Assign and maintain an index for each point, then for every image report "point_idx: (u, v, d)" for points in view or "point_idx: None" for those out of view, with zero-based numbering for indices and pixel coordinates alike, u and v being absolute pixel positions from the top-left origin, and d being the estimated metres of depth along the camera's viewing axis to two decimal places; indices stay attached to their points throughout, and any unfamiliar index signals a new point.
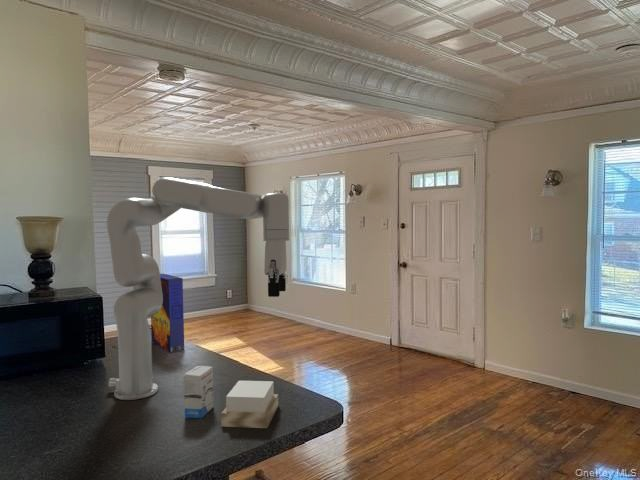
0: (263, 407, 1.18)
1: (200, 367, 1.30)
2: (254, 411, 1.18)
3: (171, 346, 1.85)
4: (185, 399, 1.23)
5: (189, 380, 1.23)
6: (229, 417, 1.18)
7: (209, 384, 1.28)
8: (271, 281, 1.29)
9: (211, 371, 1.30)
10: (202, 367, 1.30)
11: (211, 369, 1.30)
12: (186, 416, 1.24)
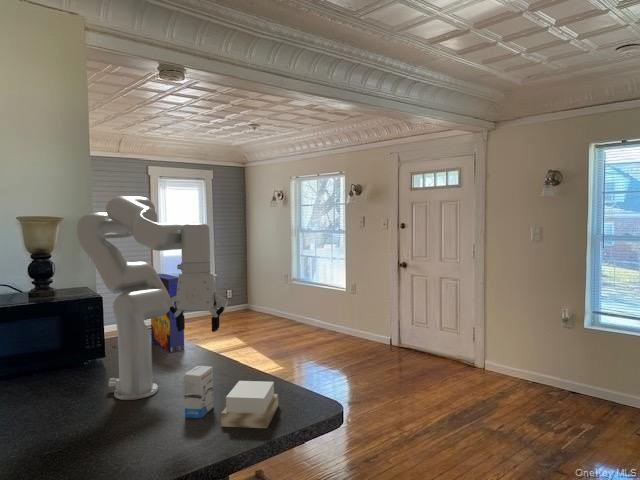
0: (263, 408, 1.18)
1: (200, 367, 1.30)
2: (254, 412, 1.18)
3: (171, 346, 1.85)
4: (185, 399, 1.23)
5: (189, 380, 1.23)
6: (229, 417, 1.18)
7: (209, 384, 1.28)
8: (219, 314, 1.25)
9: (211, 371, 1.30)
10: (202, 367, 1.30)
11: (211, 369, 1.30)
12: (186, 416, 1.24)
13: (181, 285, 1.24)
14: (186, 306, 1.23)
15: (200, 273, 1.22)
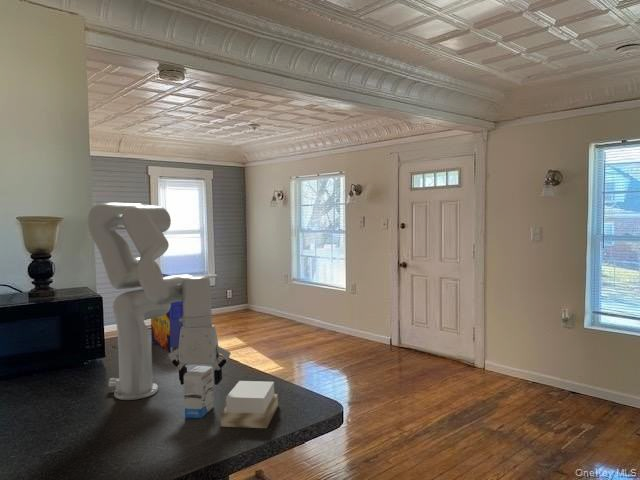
0: (263, 408, 1.18)
1: (200, 367, 1.30)
2: (254, 412, 1.18)
3: (171, 346, 1.85)
4: (185, 399, 1.23)
5: (189, 380, 1.23)
6: (229, 417, 1.18)
7: (209, 384, 1.28)
8: (221, 367, 1.25)
9: (211, 371, 1.30)
10: (202, 367, 1.30)
11: (211, 369, 1.30)
12: (186, 416, 1.24)
13: (183, 338, 1.24)
14: (189, 359, 1.24)
15: (202, 327, 1.23)
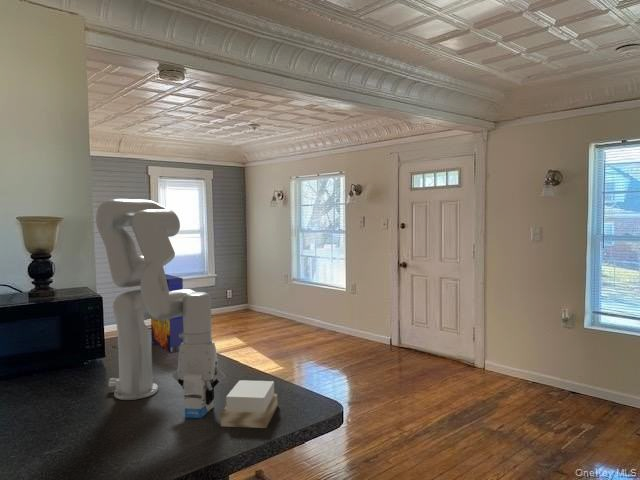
0: (263, 407, 1.18)
1: None
2: (254, 411, 1.18)
3: (171, 346, 1.85)
4: (185, 399, 1.23)
5: (189, 380, 1.23)
6: (228, 417, 1.18)
7: None
8: None
9: None
10: None
11: None
12: (186, 416, 1.24)
13: (182, 355, 1.24)
14: None
15: (201, 344, 1.23)
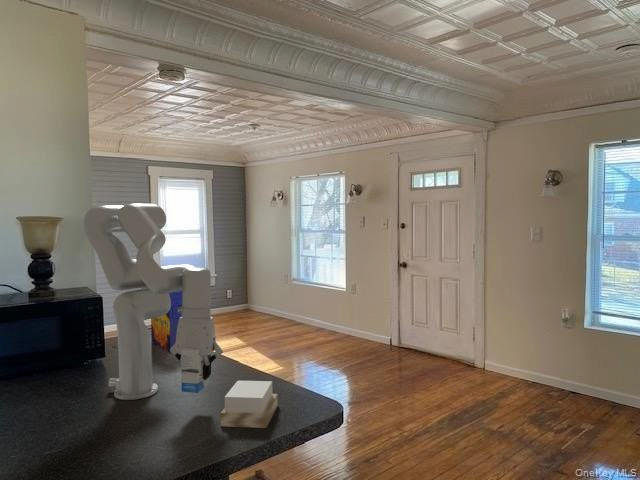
0: (262, 407, 1.18)
1: None
2: (253, 411, 1.18)
3: (171, 346, 1.85)
4: (182, 373, 1.24)
5: (187, 354, 1.23)
6: (228, 417, 1.18)
7: None
8: (210, 363, 1.26)
9: None
10: None
11: None
12: (183, 390, 1.24)
13: (181, 329, 1.24)
14: None
15: (200, 319, 1.23)
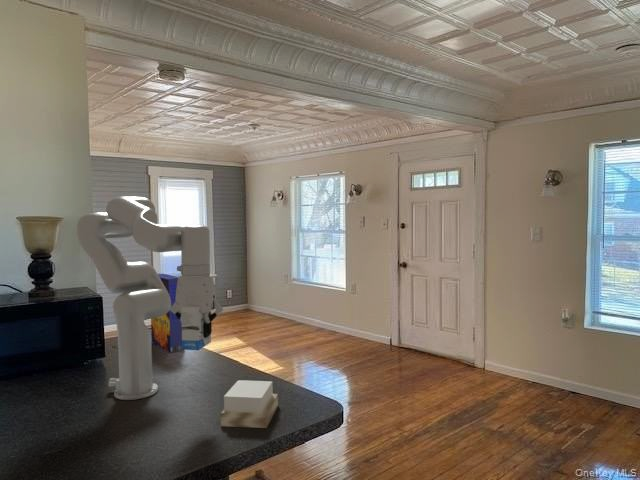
0: (261, 407, 1.18)
1: None
2: (252, 411, 1.18)
3: (171, 346, 1.85)
4: (182, 331, 1.23)
5: (187, 311, 1.22)
6: (229, 417, 1.18)
7: None
8: (211, 321, 1.26)
9: None
10: None
11: None
12: (183, 348, 1.23)
13: (180, 286, 1.24)
14: None
15: (200, 275, 1.23)
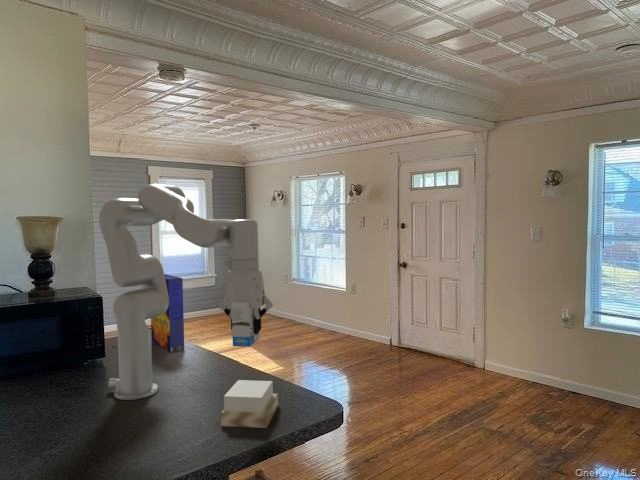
0: (260, 407, 1.18)
1: None
2: (252, 411, 1.18)
3: (171, 346, 1.85)
4: (233, 327, 1.20)
5: (237, 307, 1.20)
6: (229, 417, 1.18)
7: None
8: None
9: None
10: None
11: None
12: (234, 344, 1.20)
13: (229, 282, 1.21)
14: None
15: (249, 270, 1.20)
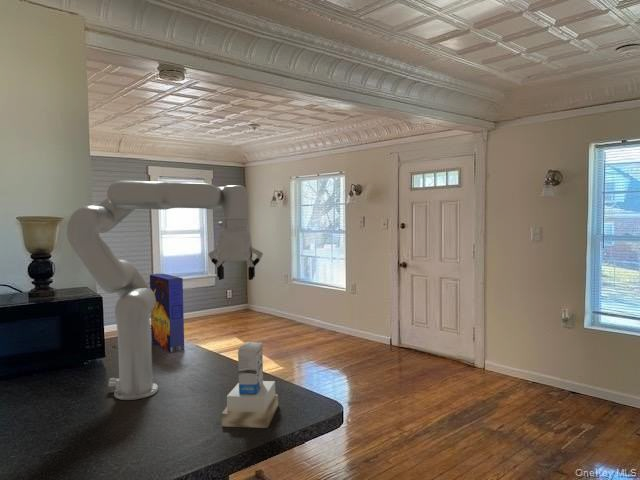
0: (263, 407, 1.19)
1: (250, 343, 1.27)
2: (254, 411, 1.19)
3: (171, 346, 1.85)
4: (239, 375, 1.20)
5: (244, 355, 1.20)
6: (229, 418, 1.18)
7: (261, 359, 1.25)
8: (255, 265, 1.44)
9: (261, 347, 1.27)
10: (252, 343, 1.27)
11: (261, 345, 1.27)
12: (240, 392, 1.20)
13: (222, 238, 1.42)
14: (227, 257, 1.42)
15: (239, 228, 1.41)
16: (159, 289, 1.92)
